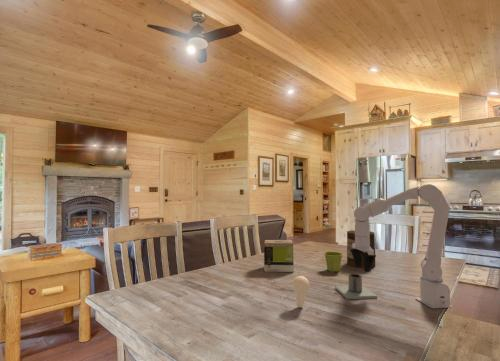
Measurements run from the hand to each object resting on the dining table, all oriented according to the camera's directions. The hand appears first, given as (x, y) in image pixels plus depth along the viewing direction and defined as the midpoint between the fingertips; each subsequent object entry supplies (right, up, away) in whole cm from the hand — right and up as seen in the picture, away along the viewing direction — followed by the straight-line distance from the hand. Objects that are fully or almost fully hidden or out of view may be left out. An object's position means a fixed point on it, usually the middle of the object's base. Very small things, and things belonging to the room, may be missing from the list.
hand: (362, 268), depth 121 cm
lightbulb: (-28, -9, -17) cm, 34 cm away
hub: (-4, -8, -2) cm, 9 cm away
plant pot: (-3, -10, +31) cm, 33 cm away
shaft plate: (-4, -9, -2) cm, 10 cm away
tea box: (-31, -10, +32) cm, 46 cm away
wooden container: (+16, -11, +43) cm, 47 cm away
